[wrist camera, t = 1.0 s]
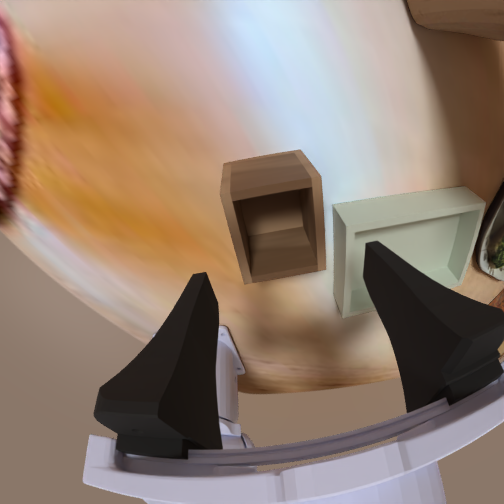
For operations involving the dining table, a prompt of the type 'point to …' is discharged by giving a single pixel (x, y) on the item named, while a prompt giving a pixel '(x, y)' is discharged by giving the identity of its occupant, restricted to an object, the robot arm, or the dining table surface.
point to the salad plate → (492, 238)
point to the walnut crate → (275, 215)
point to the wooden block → (461, 16)
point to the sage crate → (405, 238)
